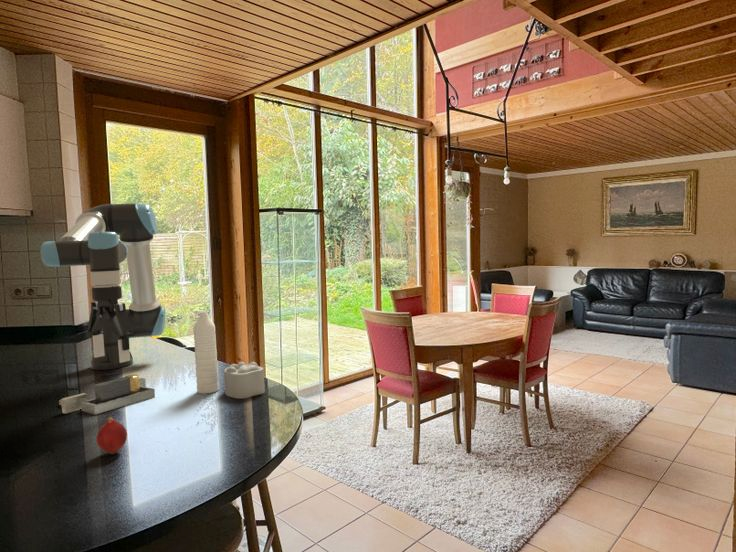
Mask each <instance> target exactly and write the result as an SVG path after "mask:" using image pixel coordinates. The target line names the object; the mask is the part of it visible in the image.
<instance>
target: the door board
mask: <svg viewBox="0 0 736 552" xmlns="http://www.w3.org/2000/svg"><path fill="white" fill-rule="evenodd" d="M139 387H140V392H139V393H135V394H132V395H128V396H125V397H121V398H118V399H114V400H110V401H107V402H103V403H100V404H96V397H95V398H92V399H89V400H88V394H87V393H86V392H85V393H84V392H82V393H79V394H75V395H71V396H66V397H63V398H60V400H58V403H59V404H58V405H61V406H60V407H61V412H62V413H61V414H64V415H65V414H70V413H74V412H77V411H80V409H81V411H82V412H84V413H88V414H92V415H95V416H97V415H99V414H104V413H105V412H106V413H107V412H108V411H113V410H116V409H119V408H122V407H126V406H129V405H133V404H136V403H139V402H142V401H146V400H149V399H152V398H153V399H154V398H156V395H155V392H156V390H155V388H153V387H147V385H146V378H144V377H141V378H140V377H139Z"/></svg>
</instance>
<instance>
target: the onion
mask: <svg viewBox="0 0 736 552" xmlns="http://www.w3.org/2000/svg"><path fill="white" fill-rule="evenodd" d="M127 438H128V433H127V429H126V427H125V426H124V425H123V424H122V423H120V422H119V421H117V420H115V419H114V418H112V417H108V418H107V420H106V423H104V424H103V425H102V426H101V427H100V429H99V430H98V432H97V435H96V444H97V446H98V447H99V448H100V449H101V451H102V450H103V451H104V452H107V453H108V454H110V455H115V454H116V453H117V452H119V450H121V449H122V448H123V446H124V445H125V444H126V441H127Z"/></svg>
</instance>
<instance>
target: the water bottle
mask: <svg viewBox="0 0 736 552" xmlns="http://www.w3.org/2000/svg"><path fill="white" fill-rule="evenodd" d="M195 314H196V315H199V317H198V319H197V320H196V322H195V324H194V325H193V342H194V344H193V345H194V359H195V361H194V362H195V375H196V376H195V377H196V392H197V393H198V394H202V395H203V394H212V393H216V392H217V391H219V389H220V386H219V376H218V375H219V369H218V368H219V367H218V366H219V365H218V358H217V356H218V352H217V339H216V338H217V337H216V336H217V335H216V334H217V333H216V325H215V323H214V322H213V321H212V319H211V318H210V316H209V314H208V311H205V310H204V309H198V310H195Z"/></svg>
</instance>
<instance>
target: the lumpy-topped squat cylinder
mask: <svg viewBox="0 0 736 552" xmlns="http://www.w3.org/2000/svg"><path fill="white" fill-rule="evenodd" d="M223 370H224V371H223V377H224V378H223V379H224V393H225V395H226V396H227V397H230V398H232V399H239V400H240V399H247V398H250V397H255V396H258V395H262V394H264V393H265V392H266V390H265V389H266V388H265V387H266V386H265V371H264V370H265V368H264V367H261V366H259V365H258V363H257V362H255V361H251V362H249V363H248V364H246V362H244V361H239V362H238V363H236V364H235V363H231V364H230V366H227V367H226V368H225V369H223Z"/></svg>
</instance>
